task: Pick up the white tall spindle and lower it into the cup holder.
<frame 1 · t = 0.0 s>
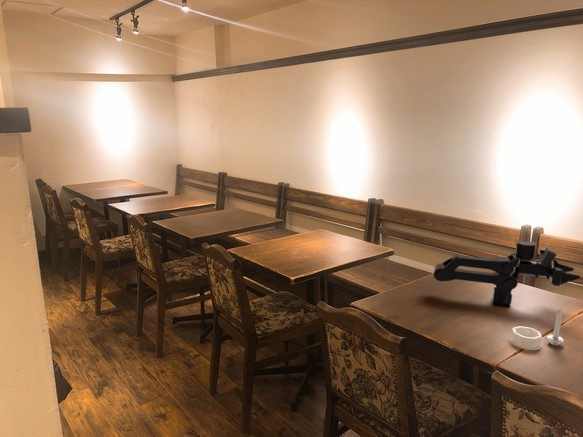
hand: (576, 273, 181), 17 cm above the table, tool horizontal, fingers open, 9 cm apart
cup holder: (525, 342, 161), on the table
white tall spindle: (554, 344, 160), on the table
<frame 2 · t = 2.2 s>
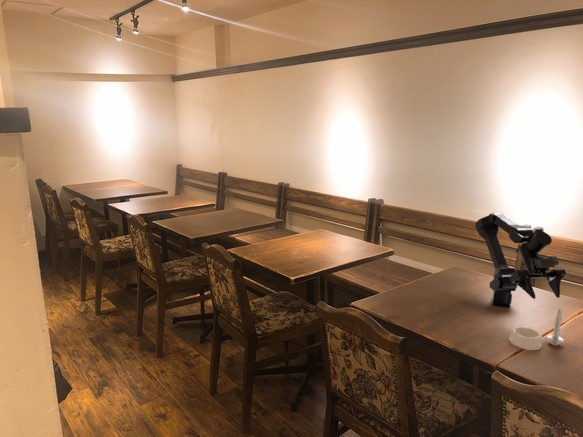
hand: (546, 298, 164), 14 cm above the table, tool tilted 45°, fingers open, 9 cm apart
nothing on the table moved.
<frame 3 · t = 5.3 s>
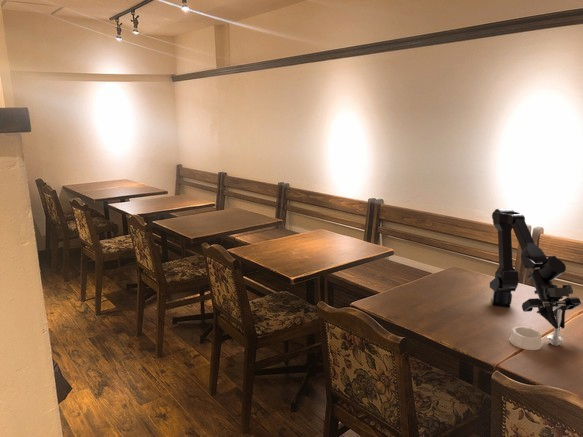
hand: (560, 328, 157), 7 cm above the table, tool tilted 45°, fingers closed on white tall spindle
white tall spindle: (554, 344, 160), on the table, touching gripper
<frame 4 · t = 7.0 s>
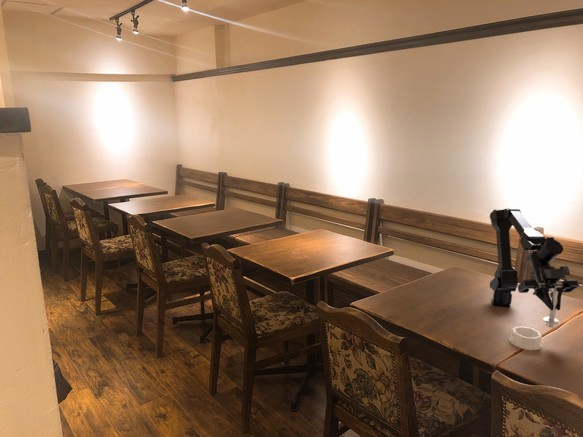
hand: (555, 310, 156), 13 cm above the table, tool tilted 45°, fingers closed on white tall spindle
white tall spindle: (550, 326, 159), point 6 cm above the table, touching gripper
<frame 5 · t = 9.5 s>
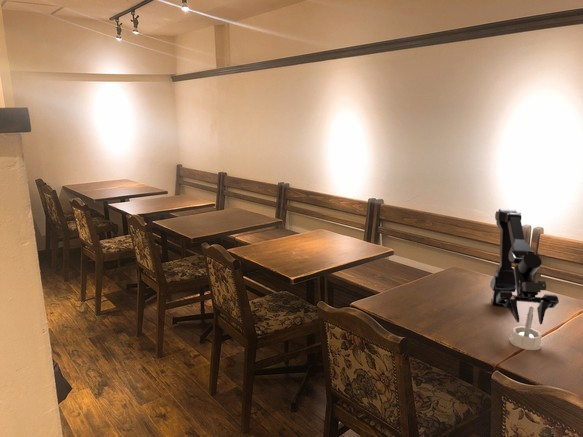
hand: (529, 323, 157), 8 cm above the table, tool tilted 45°, fingers open, 7 cm apart
white tall spindle: (525, 341, 161), resting on cup holder
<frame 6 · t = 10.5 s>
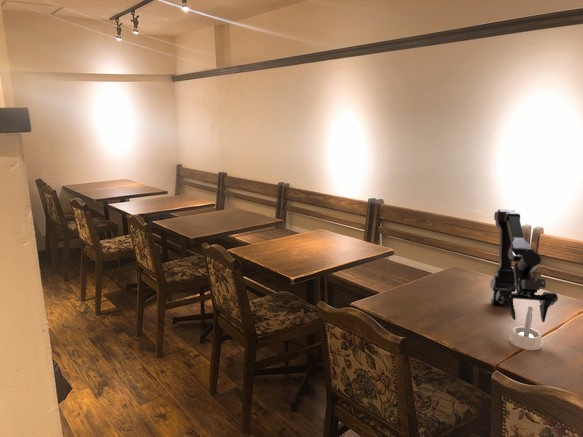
hand: (528, 320, 158), 9 cm above the table, tool tilted 45°, fingers open, 9 cm apart
nothing on the table moved.
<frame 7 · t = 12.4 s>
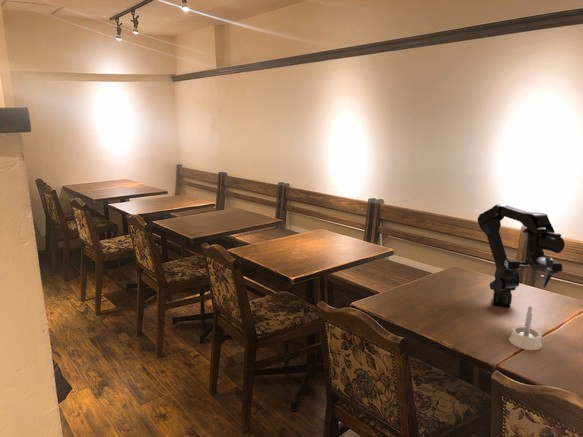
hand: (530, 286, 177), 13 cm above the table, tool pointing down, fingers open, 9 cm apart
nothing on the table moved.
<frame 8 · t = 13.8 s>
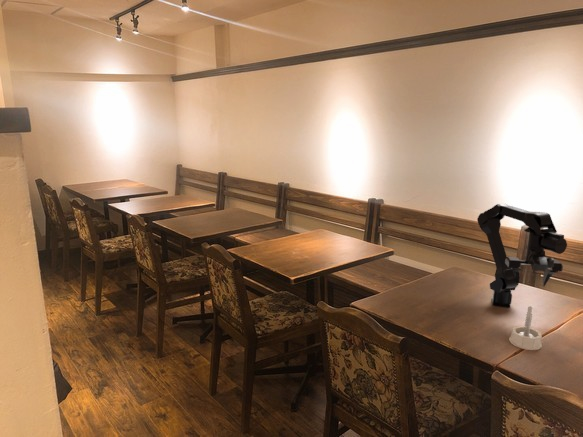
hand: (530, 285, 178), 13 cm above the table, tool pointing down, fingers open, 9 cm apart
nothing on the table moved.
at the end: white tall spindle 0.2 cm from the cup holder (horizontally); white tall spindle tilted 0°; the gripper is holding nothing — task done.
